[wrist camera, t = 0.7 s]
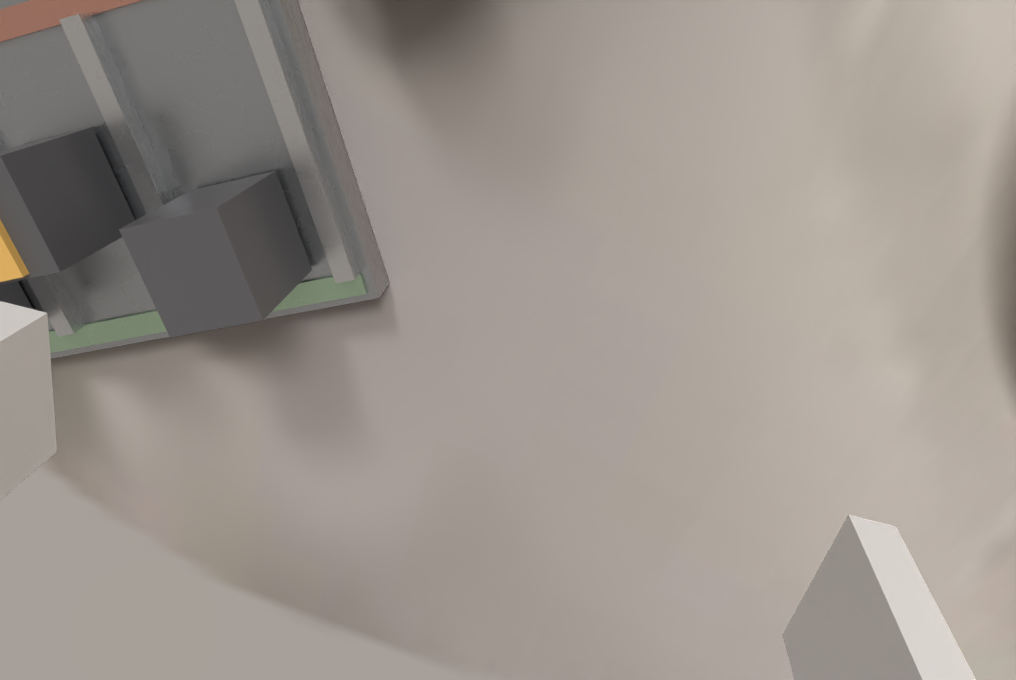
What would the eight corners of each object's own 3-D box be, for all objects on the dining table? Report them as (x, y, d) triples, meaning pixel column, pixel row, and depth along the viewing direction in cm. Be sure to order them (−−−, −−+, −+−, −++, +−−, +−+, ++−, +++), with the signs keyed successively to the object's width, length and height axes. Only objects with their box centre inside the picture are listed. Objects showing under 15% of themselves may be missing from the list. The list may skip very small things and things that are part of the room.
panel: (-193, 65, 38) (-253, 73, 35) (272, -77, 33) (242, -80, 30) (-18, 359, 45) (-57, 384, 42) (389, 283, 39) (373, 306, 37)
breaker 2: (191, 190, 36) (118, 229, 31) (275, 170, 35) (216, 207, 30) (231, 285, 38) (169, 337, 33) (312, 269, 37) (263, 320, 32)
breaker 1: (12, 147, 36) (-99, 181, 30) (92, 126, 35) (-8, 157, 29) (61, 244, 38) (-34, 294, 32) (138, 227, 37) (54, 275, 31)
